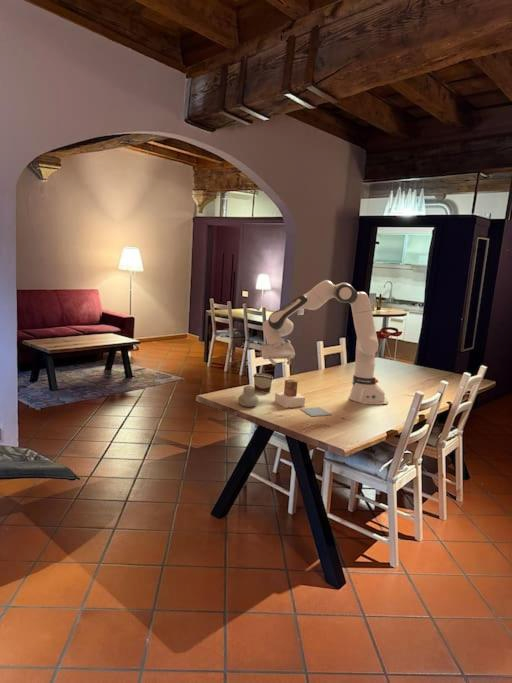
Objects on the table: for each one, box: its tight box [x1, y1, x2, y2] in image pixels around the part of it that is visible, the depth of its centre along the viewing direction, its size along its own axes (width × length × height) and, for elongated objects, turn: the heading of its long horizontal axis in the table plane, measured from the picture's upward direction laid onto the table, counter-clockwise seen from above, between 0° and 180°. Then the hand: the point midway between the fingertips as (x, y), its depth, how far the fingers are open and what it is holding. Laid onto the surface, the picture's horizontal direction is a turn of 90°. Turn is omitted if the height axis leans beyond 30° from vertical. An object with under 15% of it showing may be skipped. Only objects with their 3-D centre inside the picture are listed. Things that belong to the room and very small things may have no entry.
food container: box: [252, 372, 274, 394], centre depth 279 cm, size 12×6×10 cm, turn 71°
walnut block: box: [283, 379, 298, 397], centre depth 255 cm, size 5×5×8 cm
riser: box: [274, 391, 306, 409], centre depth 256 cm, size 12×12×5 cm
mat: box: [299, 406, 332, 418], centre depth 245 cm, size 12×12×1 cm
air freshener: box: [237, 385, 259, 408], centre depth 248 cm, size 11×8×10 cm
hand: (281, 364), depth 264 cm, fingers open, 8 cm apart
